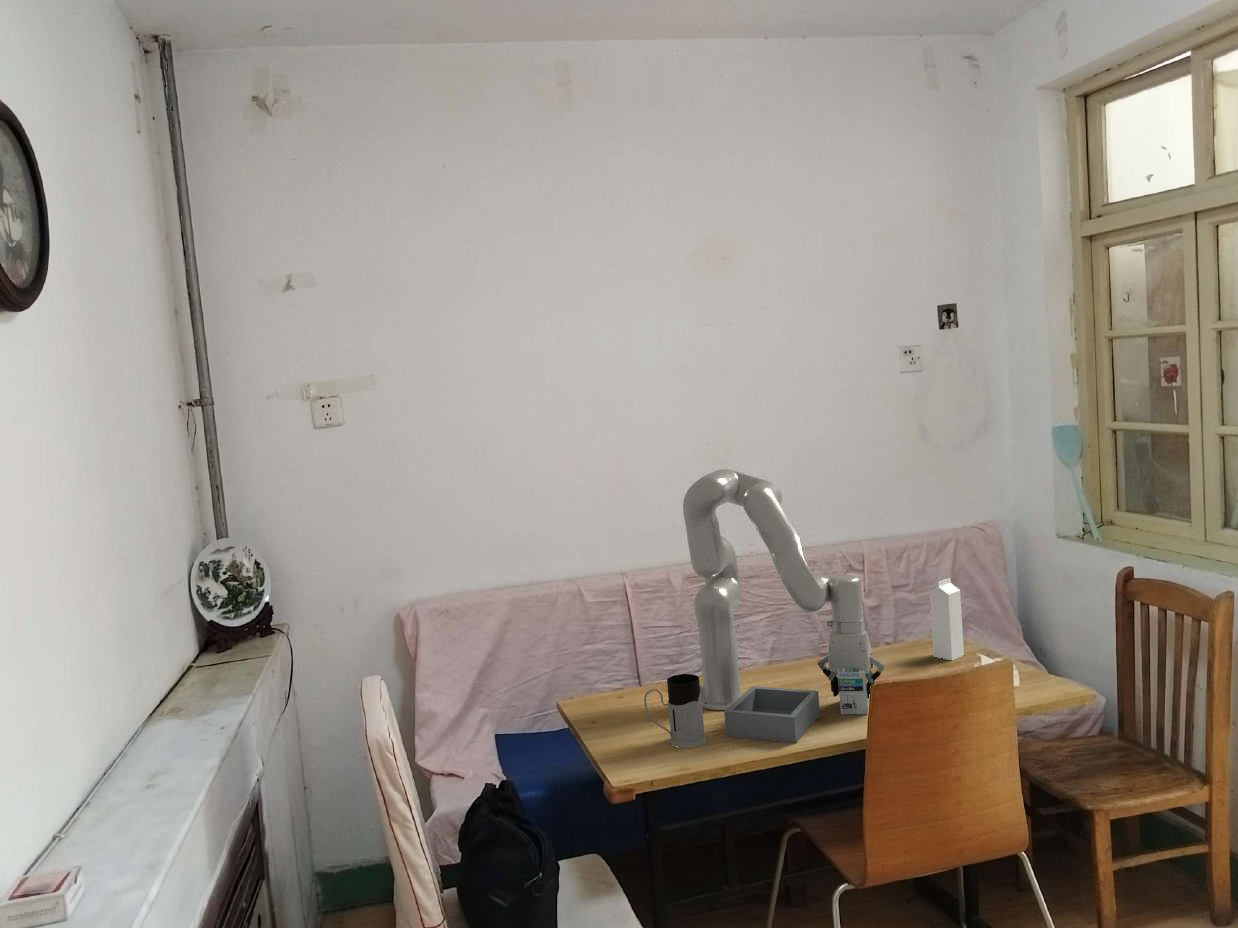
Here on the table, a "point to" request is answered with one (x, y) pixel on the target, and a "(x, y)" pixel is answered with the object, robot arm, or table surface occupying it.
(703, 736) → the glass holder
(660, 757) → the table surface
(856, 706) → the light bulb box
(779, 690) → the box
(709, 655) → the robot arm
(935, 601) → the milk
